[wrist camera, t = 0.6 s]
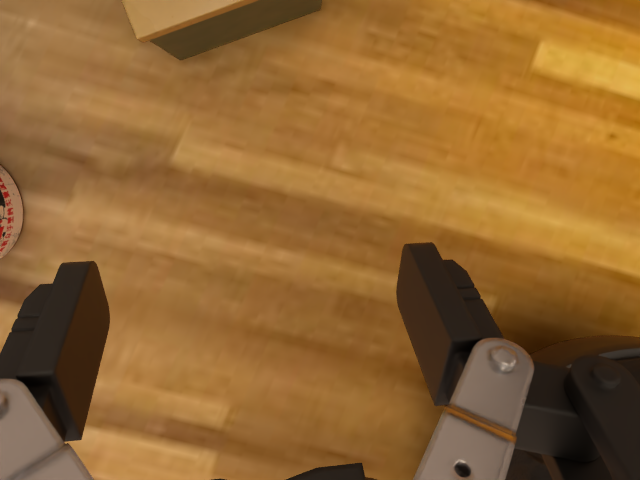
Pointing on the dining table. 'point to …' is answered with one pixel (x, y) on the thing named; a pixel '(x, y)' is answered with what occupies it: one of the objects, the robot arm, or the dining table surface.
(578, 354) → the bowl of black rocks
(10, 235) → the teacup with lid
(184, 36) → the tea tin
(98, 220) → the dining table surface
